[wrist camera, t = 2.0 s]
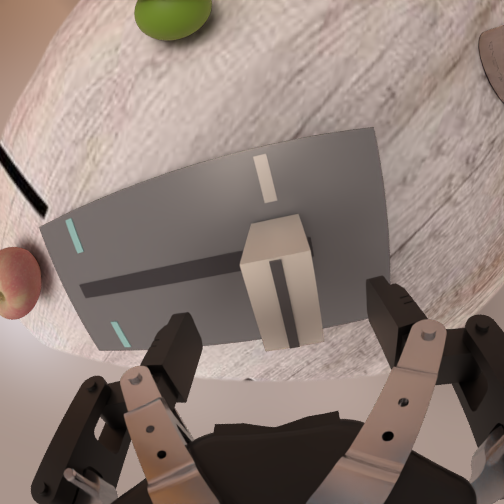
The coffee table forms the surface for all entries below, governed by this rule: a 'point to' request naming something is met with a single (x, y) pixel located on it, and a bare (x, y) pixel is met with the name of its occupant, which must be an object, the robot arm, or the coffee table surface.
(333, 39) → the coffee table surface
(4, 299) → the apple
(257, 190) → the fader console
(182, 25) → the snail figurine
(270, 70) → the coffee table surface
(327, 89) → the coffee table surface
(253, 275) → the fader
